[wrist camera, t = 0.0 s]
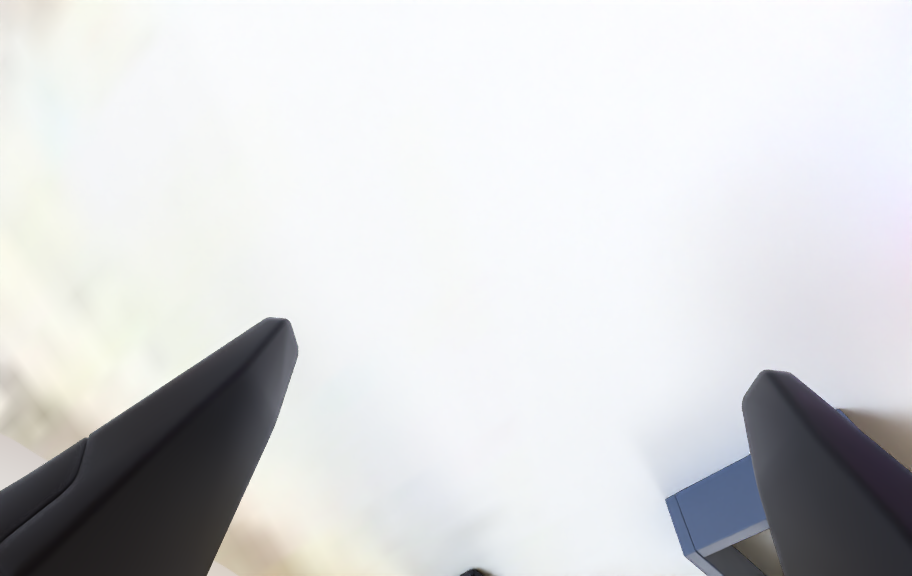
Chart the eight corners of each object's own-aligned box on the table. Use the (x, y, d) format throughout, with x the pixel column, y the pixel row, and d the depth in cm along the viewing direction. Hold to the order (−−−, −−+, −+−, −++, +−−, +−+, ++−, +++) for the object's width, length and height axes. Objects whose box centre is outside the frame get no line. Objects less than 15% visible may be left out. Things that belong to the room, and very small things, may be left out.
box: (790, 610, 33) (823, 675, 30) (664, 499, 30) (683, 556, 27) (967, 546, 29) (1031, 613, 25) (838, 407, 26) (890, 461, 22)
